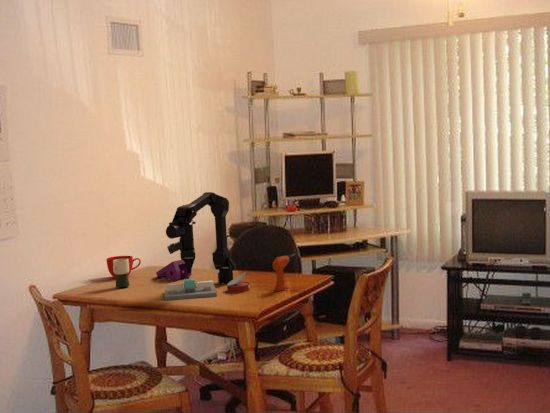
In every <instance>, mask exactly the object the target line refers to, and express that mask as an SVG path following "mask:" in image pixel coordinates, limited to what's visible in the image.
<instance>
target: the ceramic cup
mask: <svg viewBox="0 0 550 413" xmlns="http://www.w3.org/2000/svg"><path fill="white" fill-rule="evenodd" d="M116 259H128V260H129V273H127V276H128V277H129V276H130V274H131V273H132V271H133V270H135V269H137V268H138V267H140V265H141V263H142V261H141V259H140V258H139V257H135V258H134V257H133V255H117V256H116V255H115V256H110V257H107V258H106V266H107V270H108V272H109V274H110V275H111V276H112V277H113V278H114V279H116V276H117V274H114V272H113V260H116ZM136 260H138V263H137V265H136V266H134V262H135V261H136ZM133 266H134V267H133Z"/></svg>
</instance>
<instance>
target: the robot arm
mask: <svg viewBox="0 0 550 413" xmlns="http://www.w3.org/2000/svg"><path fill="white" fill-rule="evenodd" d="M206 206H209V207H210V212H211V213H212V215H213V217H214V224H215V226H214V227H215V243H216V249H215V250H214V251H213V252H212V254H211V255H212V262H213V264H214V268H215V270H217V271H218V272H217V281H218V283H219V284H220V285H223V284H228V283H229V282H230V281H232V280H233V279H234V270H236V269H237V263H236V262H235V260H234V259H233V258H232V252H231V251H230V249H229V248H228V236H227V235H228V234H227V233H228V232H227V214H229V213H228V212H229V211H230V210H229V209H230V202H229V199H228V198H226V197H224V196H221V195H220V194H216V193H215V192H213V191H207V192H206V191H205V192H204V193H203V194H201V195H200V196H198V197H197V198H195V199H194V200H193V201H191V202H190V203H186V204H183V205H180V206H178V207H177V208H176V210H175V213H174V216H173V218H172V221H171V222H169V223H168V225H167V227H166V229H165V235H166V236H167V238H168V239H172V240H173V239H176V238H177V239H178V238H179V241H177V242H172V243H171V244H169V245H168V246H167V247H166V248H167V251H168V253H169V255H172V254H174V253H175V252H178V251H180V260H183V261H184V262H185V265H186V269H187V273H190V272H191V270H192V269H193V266H194V262H195V260H196V250H195V241H194V238H195V237H194V227H193V226H194V225H195V224H196V221H195V220H193V219H194V218H196V216H197V215H198V212H199V211H200V210H201V209H203V208H204V207H206ZM191 273H192V272H191Z"/></svg>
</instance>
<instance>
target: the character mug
mask: <svg viewBox="0 0 550 413" xmlns="http://www.w3.org/2000/svg"><path fill="white" fill-rule="evenodd" d="M113 272H114V274H117V276H116V278H115V288H120V289H122V288H127V287H129V286H130V280H129V275H128V276H127V273H129V260H128V259H116V260H113Z"/></svg>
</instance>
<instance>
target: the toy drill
mask: <svg viewBox="0 0 550 413" xmlns="http://www.w3.org/2000/svg"><path fill="white" fill-rule="evenodd" d="M296 254H297V253H295V252H294V253H292V254H288V255H287V254H286V255H281V256H277V257H276V258H275V259H274V260H273V262H272V268H273V270H274V271H275V274H276V284H275V286H274V288H273V289H274V291H275V292H282V291H281V290H284V291H286V290H285V289H287V290H289V286H290V285H288V284H286V281H285V272H284V269H285V267H286V266H287V265H288V264H289V262H290V261H291V260H292V257H294V256H296Z"/></svg>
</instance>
